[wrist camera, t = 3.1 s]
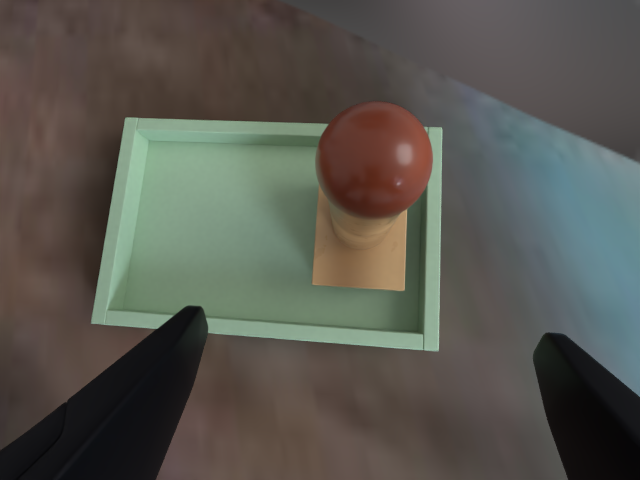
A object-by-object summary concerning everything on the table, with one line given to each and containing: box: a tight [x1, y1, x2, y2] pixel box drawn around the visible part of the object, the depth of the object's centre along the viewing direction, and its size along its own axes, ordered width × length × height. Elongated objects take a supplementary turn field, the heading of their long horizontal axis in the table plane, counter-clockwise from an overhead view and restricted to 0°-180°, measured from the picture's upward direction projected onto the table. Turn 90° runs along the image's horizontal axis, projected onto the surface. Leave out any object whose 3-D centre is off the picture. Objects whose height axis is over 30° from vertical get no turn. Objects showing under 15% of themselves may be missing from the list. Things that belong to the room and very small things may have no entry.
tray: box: [91, 117, 442, 351], centre depth 21 cm, size 19×12×2 cm, turn 86°
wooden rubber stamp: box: [312, 101, 433, 291], centre depth 15 cm, size 4×6×13 cm
